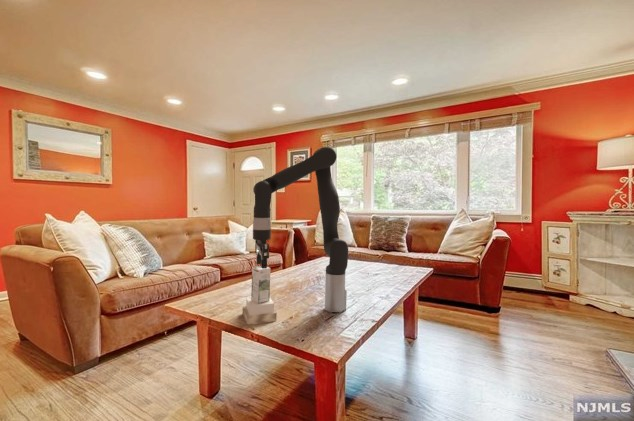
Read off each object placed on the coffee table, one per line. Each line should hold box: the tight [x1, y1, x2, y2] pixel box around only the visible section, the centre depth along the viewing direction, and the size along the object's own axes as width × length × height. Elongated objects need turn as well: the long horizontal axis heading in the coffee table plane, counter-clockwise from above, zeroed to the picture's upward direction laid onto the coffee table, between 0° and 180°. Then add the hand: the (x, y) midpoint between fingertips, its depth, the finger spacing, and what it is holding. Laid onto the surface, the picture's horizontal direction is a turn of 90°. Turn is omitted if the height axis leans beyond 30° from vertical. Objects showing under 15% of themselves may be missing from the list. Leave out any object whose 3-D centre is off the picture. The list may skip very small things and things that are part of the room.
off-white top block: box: [245, 297, 275, 316], centre depth 121 cm, size 10×10×4 cm
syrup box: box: [250, 265, 271, 304], centre depth 120 cm, size 6×6×14 cm
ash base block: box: [242, 305, 278, 326], centre depth 121 cm, size 12×12×4 cm
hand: (261, 266), depth 121 cm, fingers open, 8 cm apart
